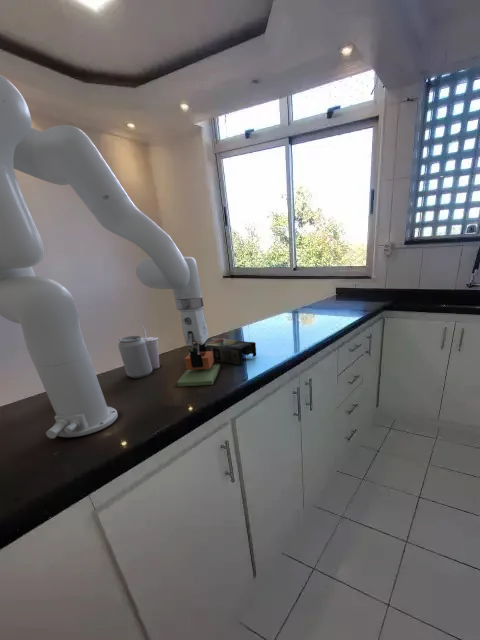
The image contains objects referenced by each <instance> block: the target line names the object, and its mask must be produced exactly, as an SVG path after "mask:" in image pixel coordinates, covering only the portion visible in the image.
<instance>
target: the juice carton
mask: <svg viewBox="0 0 480 640" xmlns="http://www.w3.org/2000/svg"><path fill="white" fill-rule="evenodd" d="M205 342H206V346H207V351H213V358H214V362H215V361H216V362H220V363H225V364H231V365H237V366H242V365H243V356H247V357H248V356H249V355H252V358H255V357H257V348H256V345H257V343H256V342H255V341H246V340H245V341H244V340H236V339H226V338H219V337H212V338H210V339H209V338H208V339H207V340H206V341H205Z"/></svg>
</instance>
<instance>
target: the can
mask: <svg viewBox="0 0 480 640" xmlns="http://www.w3.org/2000/svg"><path fill="white" fill-rule="evenodd" d="M142 338H143V337H142V336H141V335H130V336H129V335H128V336H124V337H121V338H119V339H118V341H119V343H118V344H117V345H118V346H117V347H118V350H119V353H120V358H121V360H122V363H123V367H124V369H125V373H126V375H127V376H128V377H130V378H132V379H141V378H145V377H148V376H150V375H151V373H152V372H153V369H152V366H151V362H150V358H149V354H148V351H147V347H146V343H145V341H144V340H143V339H142Z"/></svg>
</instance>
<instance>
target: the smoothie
mask: <svg viewBox="0 0 480 640" xmlns="http://www.w3.org/2000/svg"><path fill="white" fill-rule="evenodd" d="M141 328H142V332H143V336H144V337H142V339H143V340H144V341H145V343H146V347H147V351H148V354H149V358H150V362H151V366H152V370H156V369H159V368H160V355H159V354H160V353H159V338H158V336H157V337H156V336H147V332H146V328H145V325H142V327H141Z"/></svg>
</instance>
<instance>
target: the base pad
mask: <svg viewBox="0 0 480 640" xmlns="http://www.w3.org/2000/svg"><path fill="white" fill-rule="evenodd" d="M220 370H221V364H212V366H211V368H210V369H194V370H187V369H185V371H184V373H183V374H182V375H181V376H180V378H179V379H178V380H177V381H176V386H177V387H194V386H210V385H211V386H212V385H213V384H214V382H215V380H216V378H217V377H218V374H219V372H220Z"/></svg>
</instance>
